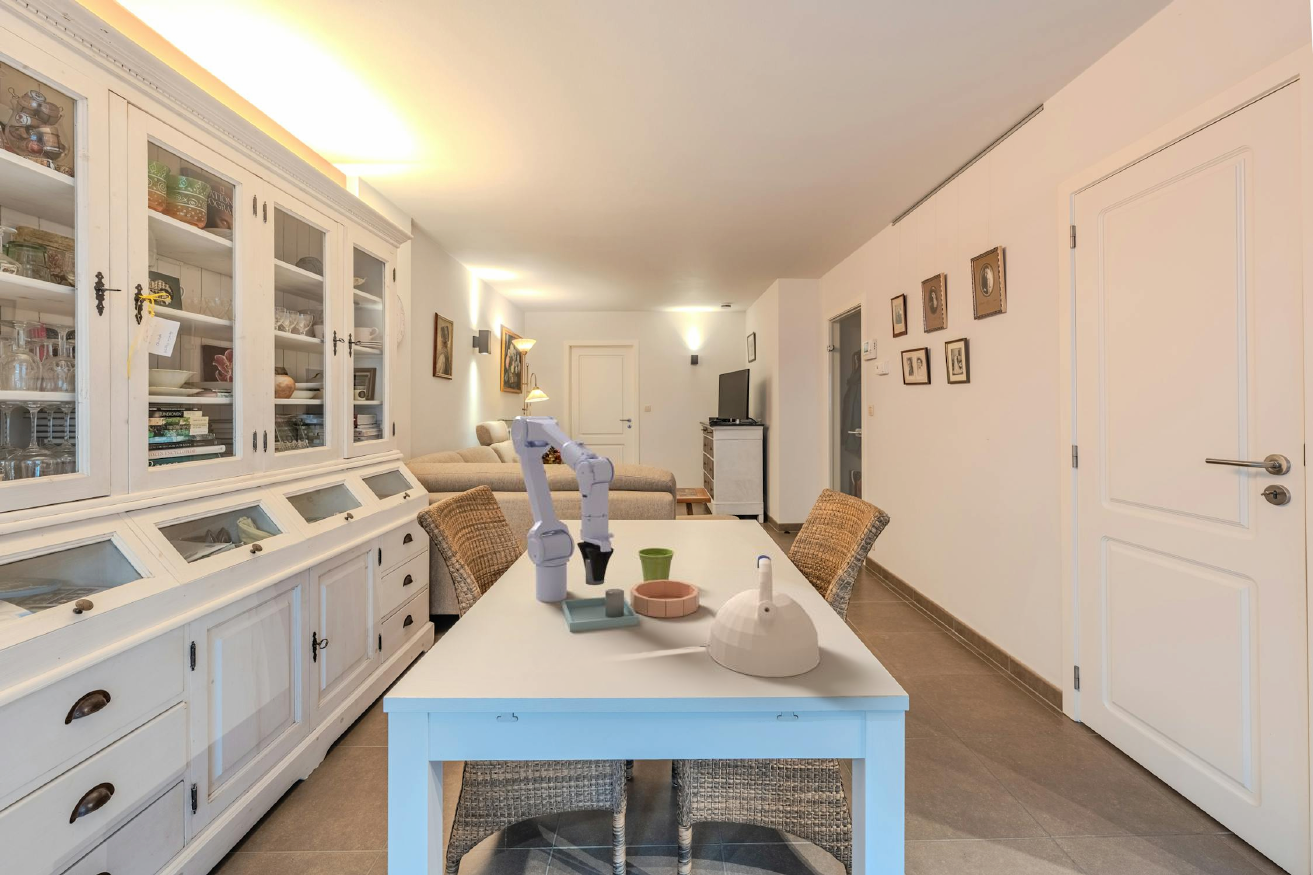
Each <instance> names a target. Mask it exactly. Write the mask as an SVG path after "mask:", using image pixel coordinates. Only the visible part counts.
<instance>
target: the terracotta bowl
mask: <svg viewBox="0 0 1313 875" xmlns="http://www.w3.org/2000/svg"><path fill="white" fill-rule="evenodd" d="M629 595H630V598H629V599H630V601H629V604H630V605H631V607H632V608H633V610H634V611H635V612H636V613H638V614H640V615H644V616H647V617H653V618H663V619H664V618H665V619H666V618H668V619H669V618H677V617H684V616H688V615H690V614H692V613H695V612H697V610H698V608H699V606H700V589H699V588H698V587H697V586H695V584H692V583H688V582H686V581H682V580H675V579H674V580H673V579H669V580H652V581H645V582H644V581H643V582H639V583H636V584H634V585H633V587H631V588H630V593H629Z"/></svg>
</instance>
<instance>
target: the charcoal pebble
mask: <svg viewBox="0 0 1313 875" xmlns="http://www.w3.org/2000/svg"><path fill="white" fill-rule="evenodd" d="M585 584H586V585H589V586H599V585H603V584H605V579H604V580H603V581H596V582H594V581H593V577H592V570H591V563H590V559H589V558H587V559H586V570H585Z"/></svg>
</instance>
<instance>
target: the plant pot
mask: <svg viewBox="0 0 1313 875" xmlns="http://www.w3.org/2000/svg"><path fill="white" fill-rule="evenodd" d="M637 554H638V556H639V560H640V564H641V570H642V577H643V582H645V581H652V580H670V571H671V564H672V559H673V557H674V555H675V551H674V550H673V549H669V548H665V547H664V548H663V547H648V548H642V549H639V550H638V551H637Z"/></svg>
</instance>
